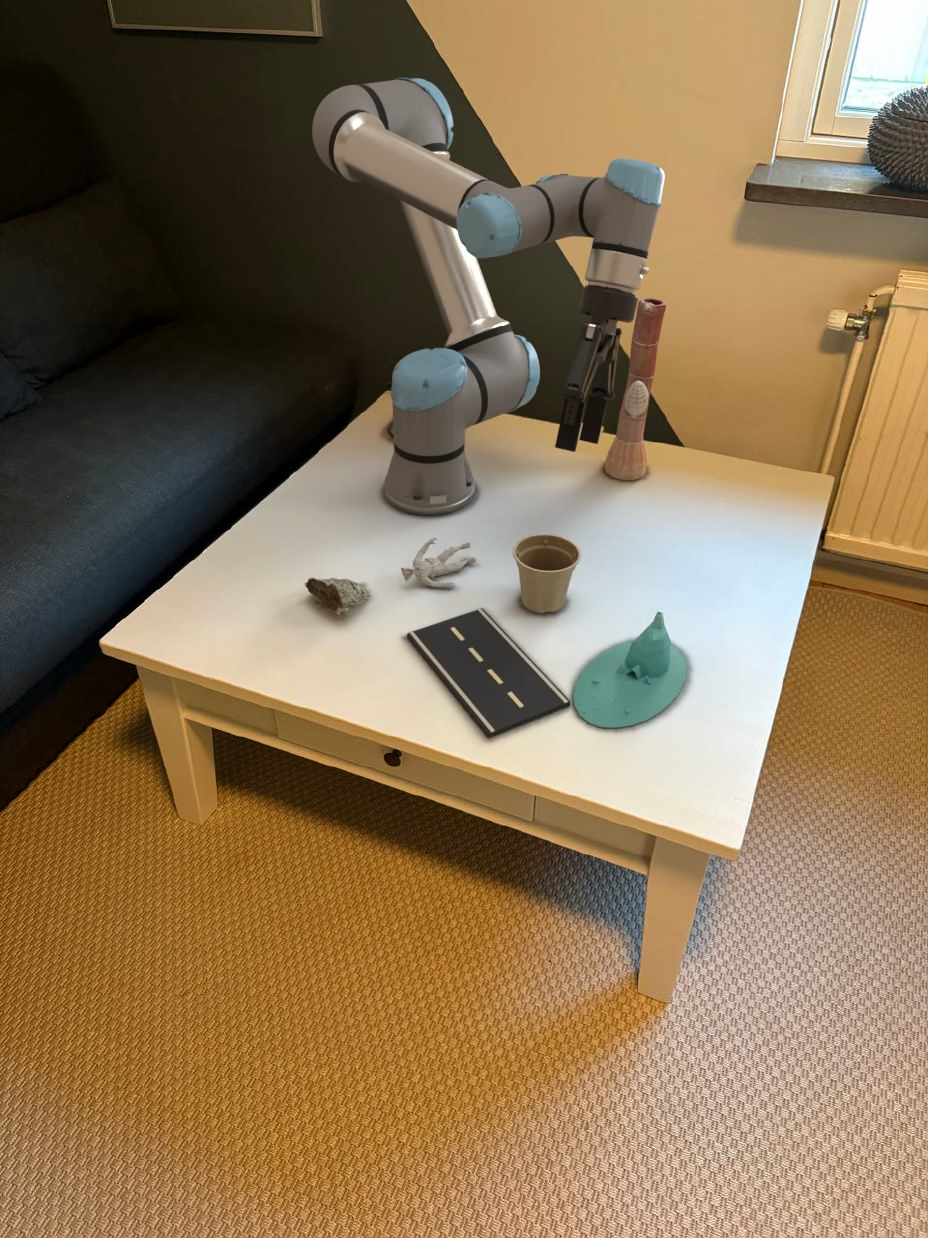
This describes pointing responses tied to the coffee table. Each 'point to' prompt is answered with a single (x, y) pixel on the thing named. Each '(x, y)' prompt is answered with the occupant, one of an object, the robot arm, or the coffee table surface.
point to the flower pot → (545, 570)
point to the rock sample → (337, 593)
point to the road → (487, 672)
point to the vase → (637, 394)
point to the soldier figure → (435, 565)
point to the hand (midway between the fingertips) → (577, 445)
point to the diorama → (631, 680)
